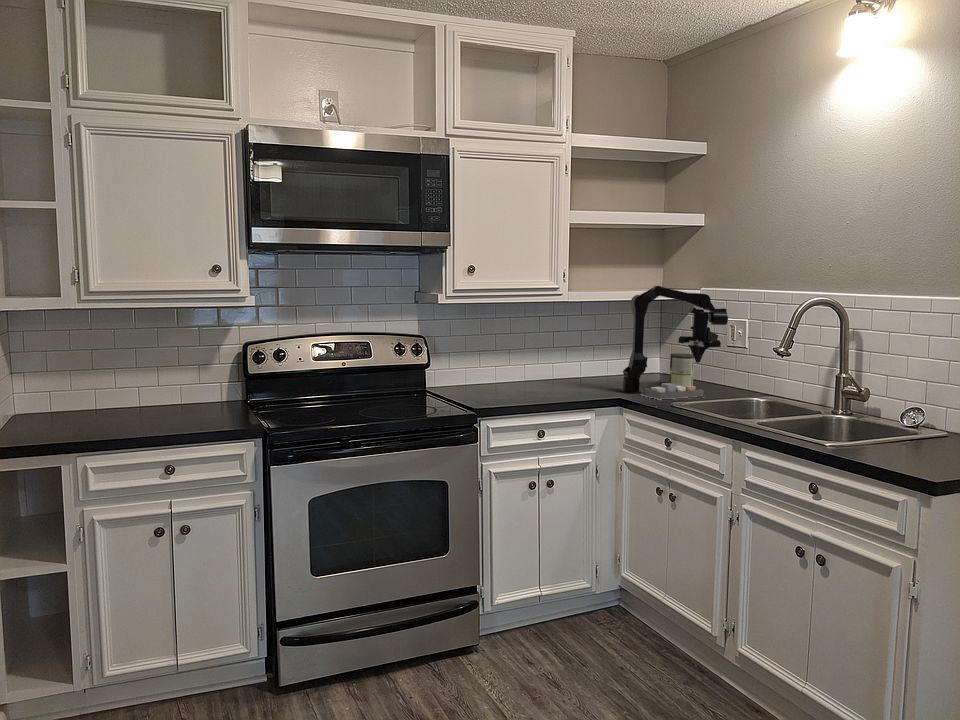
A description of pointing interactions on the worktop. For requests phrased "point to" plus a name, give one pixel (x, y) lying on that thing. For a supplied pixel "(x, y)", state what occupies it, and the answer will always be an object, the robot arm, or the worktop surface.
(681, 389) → the key
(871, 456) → the worktop surface
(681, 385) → the key
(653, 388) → the key
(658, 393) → the keypad board
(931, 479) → the worktop surface
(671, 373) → the coffee can
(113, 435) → the worktop surface
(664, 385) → the key
